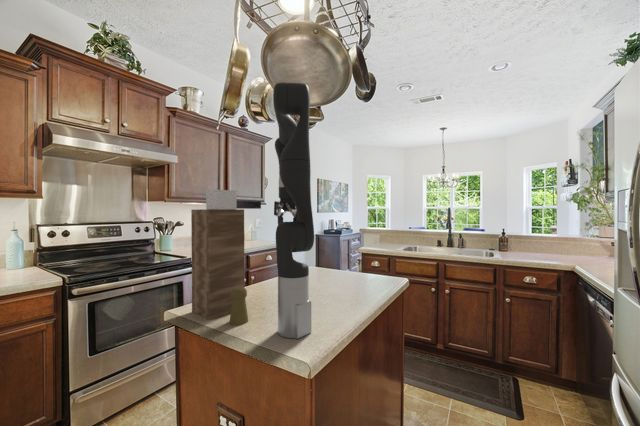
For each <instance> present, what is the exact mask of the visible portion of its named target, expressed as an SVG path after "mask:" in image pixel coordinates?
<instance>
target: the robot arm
mask: <svg viewBox="0 0 640 426" xmlns="http://www.w3.org/2000/svg"><path fill="white" fill-rule="evenodd" d="M272 92H273V95H272V97H273V98H272V99H273V100H272V101H273V110H274V113H275V118H276V121H277V127H278V137H277V138H276V140H275V142H274V150H275V153H276V156H277V161H278V173H279V174H278V175H279V176H278V198H279V201H277V200H275V201H273V202H274V203H273V204H274V205H273V207H274V208H273V215H274V216H276V217H277V227H276V230H275V251H276V267H277V334H278V335H279V336H280V337H282V338H287V339H297V340H299V339H301V338H303V337H305V336H307V335H308V334H311V333H312V300H310V299H309V298H310V296H309V295H310V294H309V292H310V291H309V289H310V287H309V285H310V281H309V280H310V278H309V277H310V276H309V274H310V273H309V271H310V270H309V265H307V263H304V262H299V261H296V260H295V259H294V256H293V253H302V252H309V251H311V250H312V248H313V246H314V243H315V227H314V226H315V225H314V219H313V217H314V216H313V208H312V196H311V195H312V193H311V155H310V154H311V151H310V115H311V114H310V111H311V110H310V108H311V104H310V103H311V98H310V97H311V96H310V95H311V94H310V88H309V86H308V84H306V83H303V82H277V83H276V84H274V86H273V91H272ZM292 116H299V118H298V122H296V121H295V120H294V118H293V117H292ZM287 212H290V214H291V215H292V216H293V217H292V221H284V215H285V213H287Z"/></svg>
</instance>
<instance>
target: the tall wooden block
mask: <svg viewBox="0 0 640 426" xmlns="http://www.w3.org/2000/svg"><path fill="white" fill-rule="evenodd" d="M190 220H191V312H192V313H194V314H196V315H199V316H201V317H204V318H206V319H208V320H214V319H216V318H219V317H222V316H223V317H224V316H226V315H229V314H231V307H232V300H233V299H232V298H231V291H232V290H233V289H234V288H245V209H236V210H234V209H206V208H205V209H191V219H190Z"/></svg>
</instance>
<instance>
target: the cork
mask: <svg viewBox="0 0 640 426" xmlns="http://www.w3.org/2000/svg"><path fill="white" fill-rule="evenodd" d="M247 296H248V290H247V288H245V287H244V288H234V289H233V290H232V291H231V298H232V299H233V300H232V307H231V313H230V316H229V324H230V325H233V326H241V325H245V324H247V323H248V322H249V315H248V309H247V308H248V307H247V301H246V297H247Z"/></svg>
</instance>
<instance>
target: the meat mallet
mask: <svg viewBox="0 0 640 426" xmlns="http://www.w3.org/2000/svg"><path fill="white" fill-rule="evenodd" d="M205 194H206V195H205V200H206V201H205V204H206V205H205V206H206V207H205V209H234V210H246V209H249V210H251V209H254V210H255V209H256V210H257V209H259V210H261V209H262V201H257V200H237V190H231V189H210V190H209V189H208V190H205Z"/></svg>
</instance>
